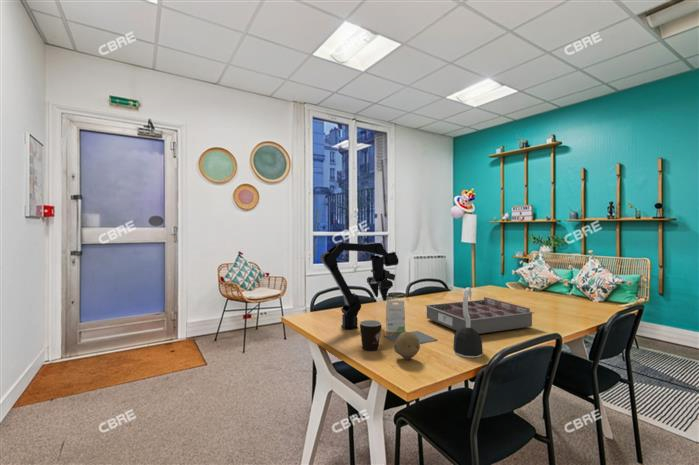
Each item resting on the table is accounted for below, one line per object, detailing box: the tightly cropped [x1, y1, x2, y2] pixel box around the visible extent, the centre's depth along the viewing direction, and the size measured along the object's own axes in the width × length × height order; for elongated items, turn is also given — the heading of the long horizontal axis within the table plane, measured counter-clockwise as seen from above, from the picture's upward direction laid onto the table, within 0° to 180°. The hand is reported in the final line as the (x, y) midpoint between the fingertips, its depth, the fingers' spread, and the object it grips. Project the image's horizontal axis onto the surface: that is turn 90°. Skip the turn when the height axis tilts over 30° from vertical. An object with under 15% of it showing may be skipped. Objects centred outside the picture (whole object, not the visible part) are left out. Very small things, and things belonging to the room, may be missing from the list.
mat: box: [383, 330, 438, 344], centre depth 145 cm, size 18×14×1 cm
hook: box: [452, 287, 484, 358], centre depth 128 cm, size 11×11×25 cm
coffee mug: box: [359, 319, 382, 352], centre depth 133 cm, size 12×9×10 cm
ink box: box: [385, 299, 406, 334], centre depth 155 cm, size 9×5×15 cm, turn 84°
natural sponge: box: [393, 331, 421, 360], centre depth 121 cm, size 9×9×10 cm
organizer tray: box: [424, 296, 535, 335], centre depth 167 cm, size 32×40×10 cm
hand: (380, 298), depth 166 cm, fingers open, 9 cm apart
